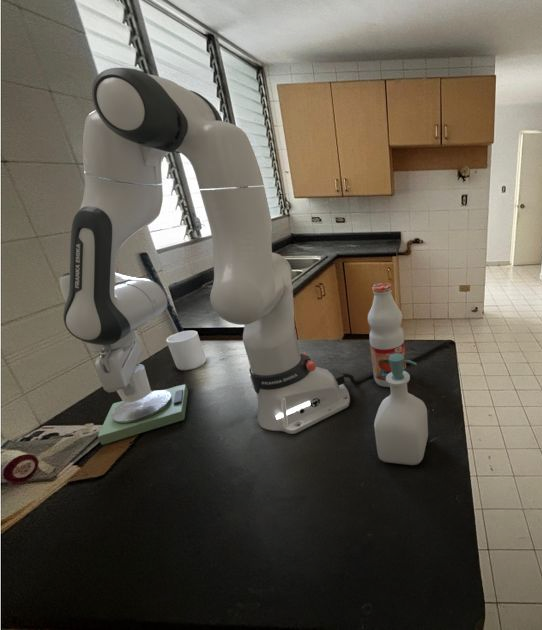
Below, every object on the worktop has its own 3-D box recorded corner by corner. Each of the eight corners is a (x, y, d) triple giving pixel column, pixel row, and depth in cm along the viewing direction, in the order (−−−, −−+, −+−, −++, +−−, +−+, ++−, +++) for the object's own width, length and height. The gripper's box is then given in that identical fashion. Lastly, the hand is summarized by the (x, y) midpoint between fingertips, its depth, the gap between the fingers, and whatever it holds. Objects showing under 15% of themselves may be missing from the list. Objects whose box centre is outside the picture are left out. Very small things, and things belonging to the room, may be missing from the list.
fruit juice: (394, 366, 102) (387, 277, 91) (413, 379, 95) (407, 285, 84) (368, 377, 97) (356, 285, 86) (385, 392, 90) (375, 294, 79)
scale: (188, 391, 94) (184, 381, 93) (184, 419, 83) (180, 409, 82) (116, 411, 87) (111, 401, 86) (101, 445, 76) (96, 434, 75)
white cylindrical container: (134, 405, 79) (123, 380, 76) (111, 402, 80) (99, 377, 77) (161, 388, 85) (151, 364, 82) (139, 385, 86) (128, 362, 83)
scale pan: (173, 386, 91) (173, 385, 91) (168, 411, 82) (168, 409, 81) (118, 401, 86) (117, 400, 86) (106, 429, 76) (104, 427, 76)
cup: (186, 373, 103) (176, 344, 99) (164, 365, 109) (153, 337, 105) (212, 360, 110) (203, 332, 106) (190, 353, 115) (180, 327, 111)
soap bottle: (422, 470, 66) (416, 372, 57) (375, 465, 67) (362, 368, 58) (429, 435, 74) (426, 345, 65) (388, 431, 76) (378, 343, 67)
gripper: (117, 351, 69) (142, 405, 75) (136, 318, 86) (155, 365, 91) (77, 360, 66) (105, 415, 72) (105, 324, 83) (126, 372, 88)
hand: (133, 387), depth 82 cm, fingers closed on white cylindrical container, 5 cm apart
